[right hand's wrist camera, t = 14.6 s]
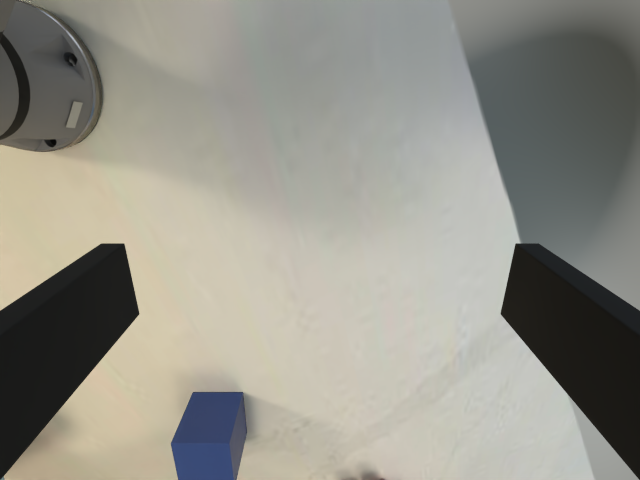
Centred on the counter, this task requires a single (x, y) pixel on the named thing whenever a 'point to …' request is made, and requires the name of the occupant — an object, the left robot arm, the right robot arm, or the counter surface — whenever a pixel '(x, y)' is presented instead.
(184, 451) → the block
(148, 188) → the counter surface
